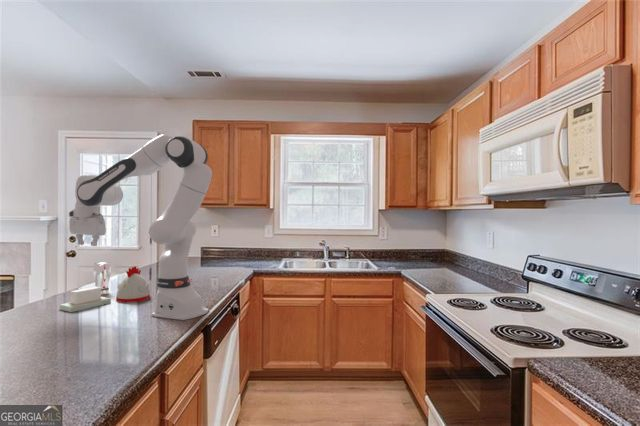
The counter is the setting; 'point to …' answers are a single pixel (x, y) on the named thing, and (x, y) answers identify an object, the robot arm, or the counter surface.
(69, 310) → the green peg board
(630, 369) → the counter surface
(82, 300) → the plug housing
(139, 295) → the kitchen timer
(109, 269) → the beer glass
